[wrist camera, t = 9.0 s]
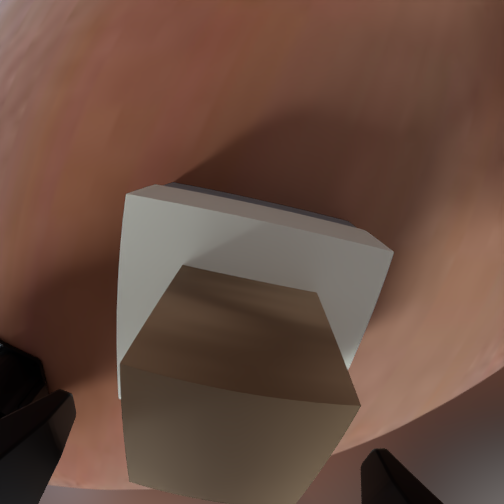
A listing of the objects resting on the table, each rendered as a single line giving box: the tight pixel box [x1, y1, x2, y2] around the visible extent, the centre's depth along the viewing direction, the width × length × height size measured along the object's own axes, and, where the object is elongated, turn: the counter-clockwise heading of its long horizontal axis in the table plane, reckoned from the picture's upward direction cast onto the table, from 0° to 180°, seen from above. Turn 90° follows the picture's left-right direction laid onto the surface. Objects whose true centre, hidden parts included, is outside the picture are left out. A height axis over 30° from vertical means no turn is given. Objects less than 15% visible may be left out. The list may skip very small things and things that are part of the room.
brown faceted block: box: [120, 265, 361, 504], centre depth 9 cm, size 5×5×6 cm
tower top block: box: [117, 184, 394, 399], centre depth 14 cm, size 10×10×4 cm
